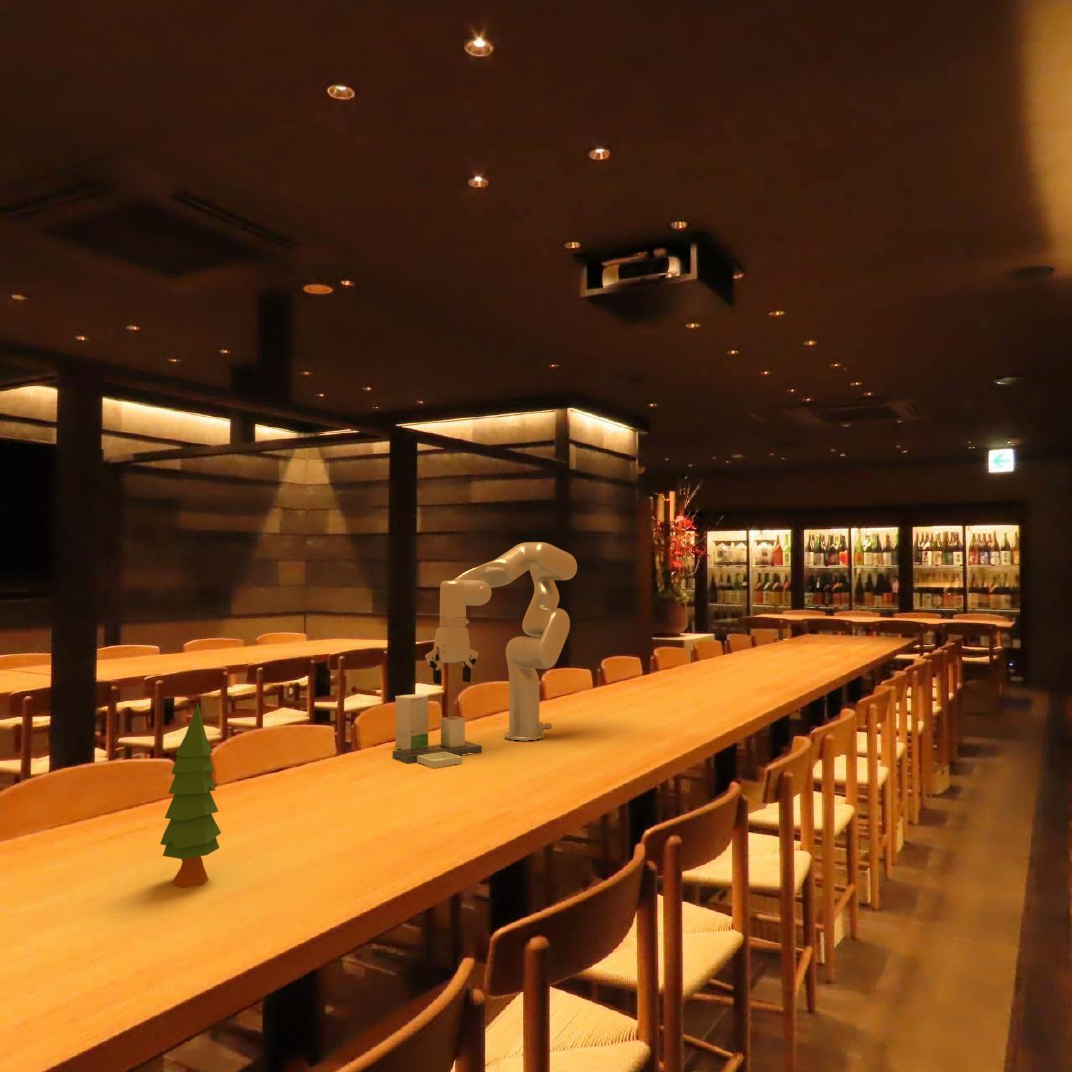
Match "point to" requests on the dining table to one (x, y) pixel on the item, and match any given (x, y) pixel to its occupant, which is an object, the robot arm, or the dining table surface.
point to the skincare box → (411, 721)
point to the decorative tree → (192, 807)
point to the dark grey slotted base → (434, 751)
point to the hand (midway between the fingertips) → (452, 682)
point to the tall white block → (452, 732)
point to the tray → (439, 759)
